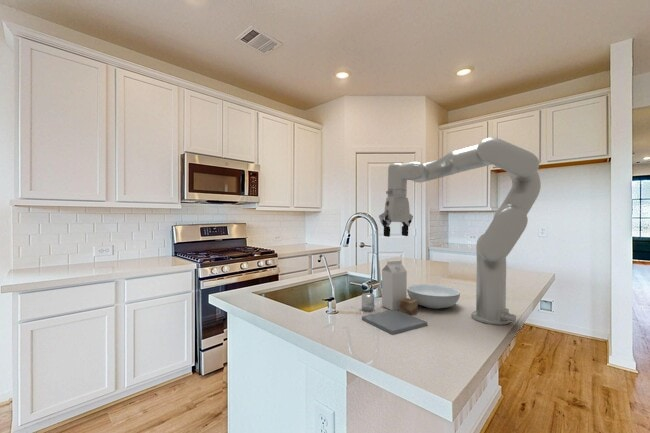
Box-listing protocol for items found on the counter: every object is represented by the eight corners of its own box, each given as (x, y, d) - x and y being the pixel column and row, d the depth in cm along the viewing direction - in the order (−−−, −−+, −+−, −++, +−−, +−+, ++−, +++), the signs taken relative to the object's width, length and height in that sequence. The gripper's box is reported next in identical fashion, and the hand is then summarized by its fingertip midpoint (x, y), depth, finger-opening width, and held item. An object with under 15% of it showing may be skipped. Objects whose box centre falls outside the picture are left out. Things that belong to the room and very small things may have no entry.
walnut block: (417, 313, 121) (417, 300, 121) (410, 316, 118) (410, 303, 117) (405, 310, 125) (405, 297, 125) (399, 313, 121) (399, 300, 121)
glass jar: (376, 310, 124) (376, 295, 124) (366, 312, 122) (366, 297, 122) (369, 307, 128) (369, 292, 128) (359, 309, 126) (359, 294, 126)
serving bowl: (465, 315, 119) (465, 297, 118) (408, 311, 123) (408, 294, 123) (454, 300, 139) (454, 284, 139) (405, 297, 143) (405, 282, 143)
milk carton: (381, 306, 130) (381, 260, 129) (395, 304, 133) (395, 259, 132) (392, 311, 123) (392, 263, 123) (406, 308, 126) (406, 261, 126)
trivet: (427, 325, 108) (427, 322, 108) (392, 334, 100) (392, 330, 100) (395, 312, 122) (395, 309, 122) (362, 319, 114) (362, 316, 114)
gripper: (386, 193, 120) (385, 237, 121) (419, 194, 129) (418, 236, 129) (374, 193, 127) (373, 235, 127) (406, 195, 135) (405, 234, 136)
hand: (395, 236), depth 128 cm, fingers open, 9 cm apart
